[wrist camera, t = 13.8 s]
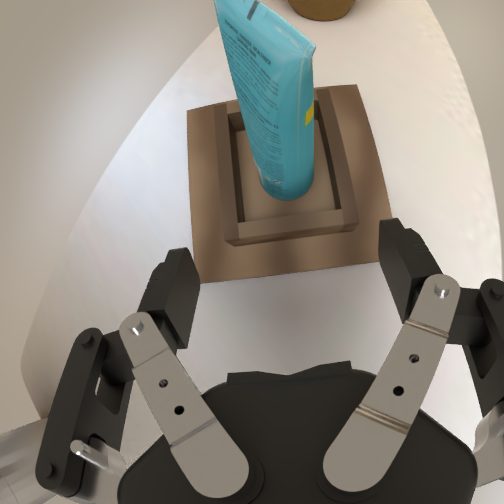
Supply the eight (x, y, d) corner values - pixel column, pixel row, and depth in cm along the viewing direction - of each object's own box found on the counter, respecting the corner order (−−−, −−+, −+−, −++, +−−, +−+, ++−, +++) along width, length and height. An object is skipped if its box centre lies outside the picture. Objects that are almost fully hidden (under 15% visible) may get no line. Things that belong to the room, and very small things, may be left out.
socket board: (200, 283, 29) (181, 281, 24) (190, 116, 32) (174, 93, 27) (395, 259, 26) (411, 252, 22) (355, 90, 29) (360, 63, 24)
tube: (333, 189, 27) (366, 19, 8) (291, 222, 27) (257, 80, 8) (280, 132, 28) (241, -43, 10) (240, 162, 29) (153, 2, 10)
